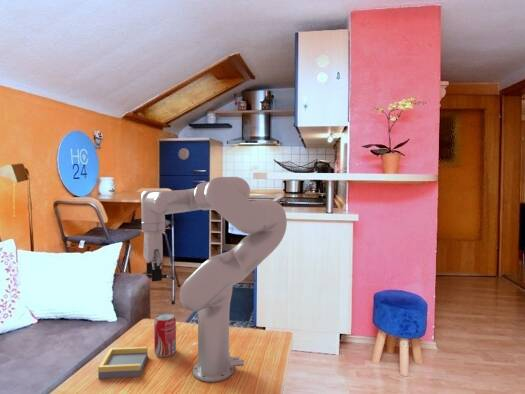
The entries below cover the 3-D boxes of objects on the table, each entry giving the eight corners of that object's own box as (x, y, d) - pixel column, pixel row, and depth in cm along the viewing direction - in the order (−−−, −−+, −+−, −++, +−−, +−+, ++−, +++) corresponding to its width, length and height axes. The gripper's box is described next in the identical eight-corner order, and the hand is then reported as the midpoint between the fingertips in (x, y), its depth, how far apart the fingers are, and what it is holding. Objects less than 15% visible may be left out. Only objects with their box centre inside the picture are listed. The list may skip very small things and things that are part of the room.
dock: (147, 356, 125) (147, 346, 125) (140, 376, 113) (139, 365, 113) (110, 358, 123) (109, 348, 123) (98, 378, 112) (98, 367, 111)
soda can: (178, 348, 131) (178, 312, 130) (171, 359, 123) (171, 320, 123) (159, 347, 131) (158, 311, 130) (151, 357, 124) (150, 319, 123)
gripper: (138, 224, 132) (138, 272, 133) (146, 231, 117) (146, 285, 118) (159, 223, 135) (160, 269, 137) (170, 230, 120) (170, 282, 121)
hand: (154, 277), depth 127 cm, fingers open, 9 cm apart
